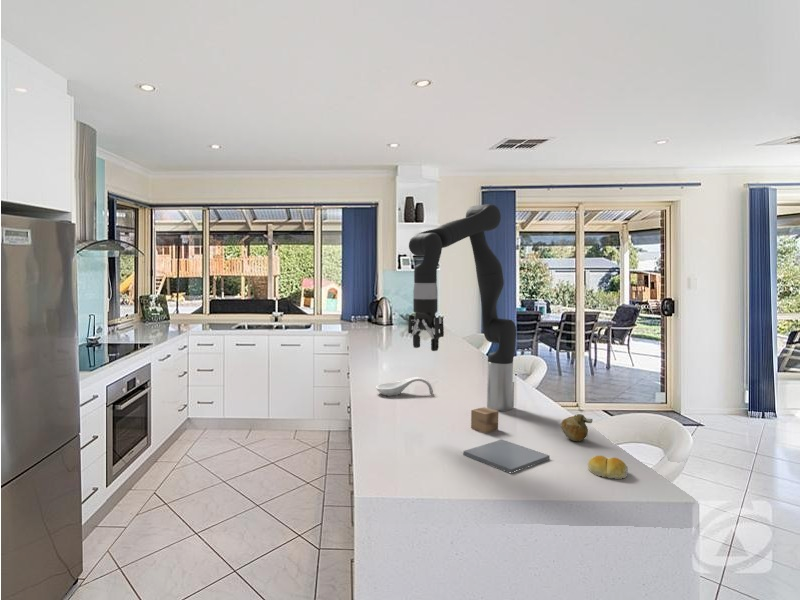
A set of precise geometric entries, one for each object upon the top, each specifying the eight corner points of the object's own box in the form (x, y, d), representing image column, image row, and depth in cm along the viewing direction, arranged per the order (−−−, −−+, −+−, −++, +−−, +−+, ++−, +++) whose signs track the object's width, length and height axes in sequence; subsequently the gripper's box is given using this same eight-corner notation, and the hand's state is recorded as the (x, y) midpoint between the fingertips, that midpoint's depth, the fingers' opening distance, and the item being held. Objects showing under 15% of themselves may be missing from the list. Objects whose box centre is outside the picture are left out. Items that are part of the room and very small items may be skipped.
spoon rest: (375, 398, 192) (376, 380, 192) (375, 391, 204) (375, 374, 204) (434, 398, 194) (434, 380, 194) (430, 391, 206) (431, 374, 205)
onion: (575, 434, 149) (575, 408, 148) (594, 442, 141) (595, 415, 141) (555, 436, 146) (555, 410, 146) (573, 445, 138) (574, 417, 138)
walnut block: (483, 425, 157) (484, 407, 157) (498, 429, 152) (498, 411, 152) (471, 428, 153) (471, 410, 153) (485, 433, 149) (485, 414, 148)
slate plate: (501, 442, 140) (502, 439, 140) (549, 459, 127) (549, 455, 127) (463, 454, 130) (463, 450, 130) (510, 473, 117) (510, 469, 117)
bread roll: (591, 464, 125) (591, 449, 124) (629, 472, 120) (629, 456, 120) (584, 474, 118) (584, 458, 117) (624, 483, 113) (624, 466, 113)
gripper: (450, 298, 146) (449, 350, 147) (419, 296, 158) (419, 345, 159) (431, 298, 142) (431, 353, 143) (401, 297, 153) (402, 347, 154)
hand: (425, 349), depth 151 cm, fingers open, 8 cm apart
